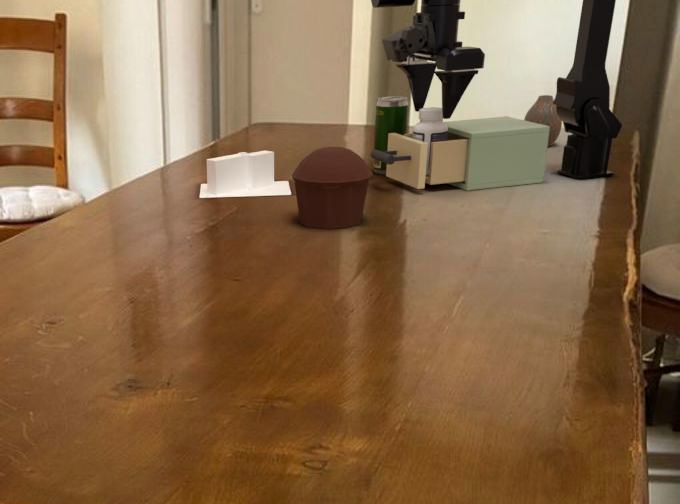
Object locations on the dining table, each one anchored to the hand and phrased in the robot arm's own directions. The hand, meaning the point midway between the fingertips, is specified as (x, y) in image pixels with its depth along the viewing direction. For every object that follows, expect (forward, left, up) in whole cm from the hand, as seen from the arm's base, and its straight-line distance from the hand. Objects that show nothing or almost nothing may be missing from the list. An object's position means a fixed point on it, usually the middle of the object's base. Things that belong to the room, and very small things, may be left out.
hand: (432, 114), depth 159 cm
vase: (-36, -23, -11) cm, 44 cm away
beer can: (0, -13, -11) cm, 17 cm away
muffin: (+23, +16, -11) cm, 31 cm away
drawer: (0, 0, -10) cm, 10 cm away
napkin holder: (+27, -11, -11) cm, 32 cm away
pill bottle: (0, 0, -9) cm, 9 cm away
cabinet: (-11, 0, -11) cm, 15 cm away
